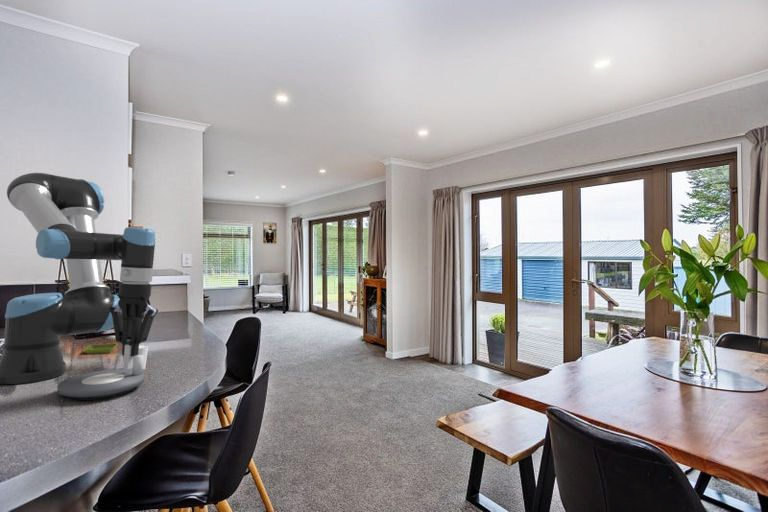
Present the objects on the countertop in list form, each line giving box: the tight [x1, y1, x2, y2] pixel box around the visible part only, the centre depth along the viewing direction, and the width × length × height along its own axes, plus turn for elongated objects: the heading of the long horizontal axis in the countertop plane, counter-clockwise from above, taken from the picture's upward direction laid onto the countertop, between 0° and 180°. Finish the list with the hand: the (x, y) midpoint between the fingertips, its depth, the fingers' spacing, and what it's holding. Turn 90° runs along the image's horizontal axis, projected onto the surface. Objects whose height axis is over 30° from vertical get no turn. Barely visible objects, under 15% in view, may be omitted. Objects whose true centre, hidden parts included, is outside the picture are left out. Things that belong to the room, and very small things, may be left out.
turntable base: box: [71, 389, 132, 401], centre depth 98 cm, size 13×13×1 cm
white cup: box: [122, 344, 149, 370], centre depth 118 cm, size 7×7×7 cm
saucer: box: [83, 343, 119, 355], centre depth 137 cm, size 9×9×2 cm
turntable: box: [57, 355, 145, 398], centre depth 98 cm, size 18×18×6 cm
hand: (129, 367), depth 104 cm, fingers closed
